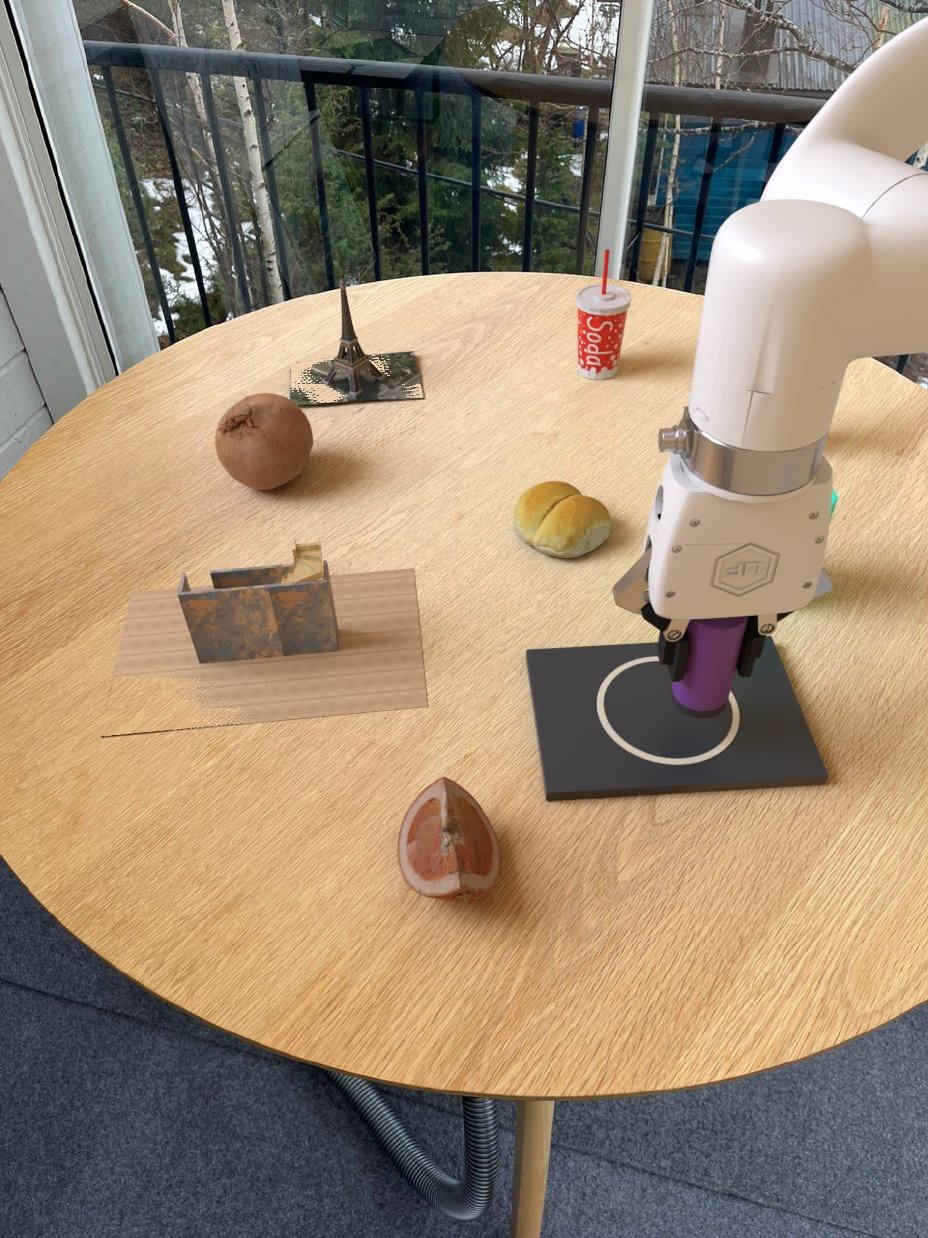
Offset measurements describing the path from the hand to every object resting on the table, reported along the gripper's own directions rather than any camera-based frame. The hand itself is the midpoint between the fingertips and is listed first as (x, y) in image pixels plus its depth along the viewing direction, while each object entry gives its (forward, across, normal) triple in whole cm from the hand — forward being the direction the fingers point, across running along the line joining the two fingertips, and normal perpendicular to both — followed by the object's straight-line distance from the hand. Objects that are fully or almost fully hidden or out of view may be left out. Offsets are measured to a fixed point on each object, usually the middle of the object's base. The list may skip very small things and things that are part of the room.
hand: (706, 662), depth 65 cm
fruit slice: (+8, -19, -10) cm, 23 cm away
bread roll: (+8, -7, +25) cm, 27 cm away
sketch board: (+8, -2, +2) cm, 8 cm away
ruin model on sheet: (+8, -33, +12) cm, 35 cm away
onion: (+8, -35, +36) cm, 50 cm away
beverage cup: (+8, +1, +54) cm, 54 cm away
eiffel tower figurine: (+8, -27, +54) cm, 60 cm away
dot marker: (+4, 0, 0) cm, 4 cm away
